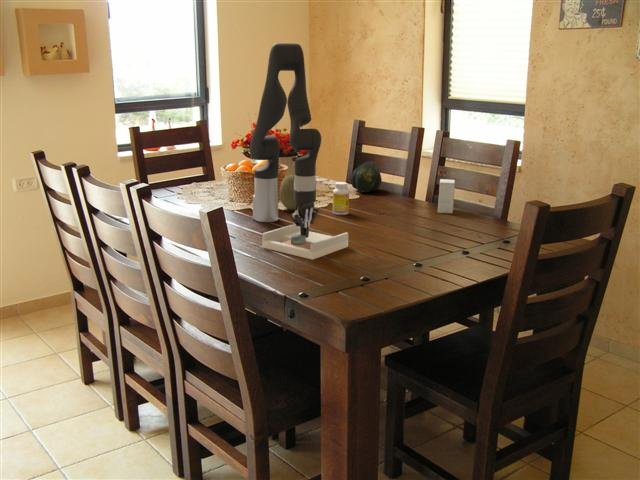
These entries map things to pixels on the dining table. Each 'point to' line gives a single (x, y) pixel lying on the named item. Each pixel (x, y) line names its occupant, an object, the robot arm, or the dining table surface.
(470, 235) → the dining table surface
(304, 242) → the puck
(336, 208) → the supplement bottle
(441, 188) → the small box
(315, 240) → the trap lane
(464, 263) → the dining table surface
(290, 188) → the fruit
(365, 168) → the squash
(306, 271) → the dining table surface
